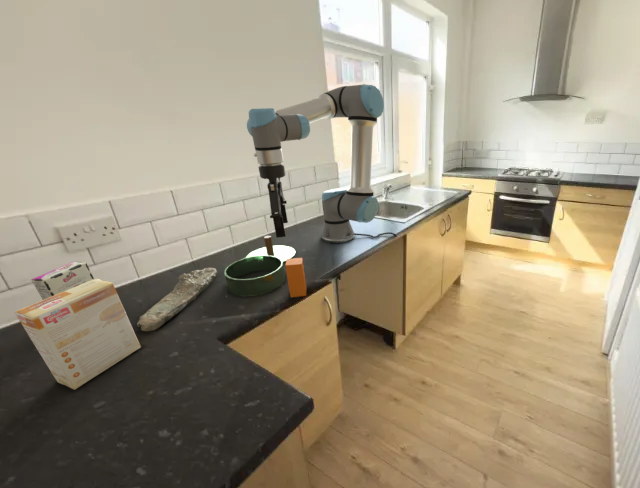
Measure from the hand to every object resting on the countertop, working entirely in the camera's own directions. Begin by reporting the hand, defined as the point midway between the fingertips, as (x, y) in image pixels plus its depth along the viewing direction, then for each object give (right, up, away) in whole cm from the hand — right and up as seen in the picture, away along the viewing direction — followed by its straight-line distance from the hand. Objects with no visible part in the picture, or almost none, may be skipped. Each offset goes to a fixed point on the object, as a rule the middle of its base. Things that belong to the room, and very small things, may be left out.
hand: (282, 229), depth 106 cm
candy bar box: (-56, -28, -10) cm, 64 cm away
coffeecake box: (-35, -35, -28) cm, 57 cm away
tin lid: (-13, -9, +27) cm, 32 cm away
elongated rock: (-32, -23, -2) cm, 39 cm away
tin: (-11, -18, +7) cm, 23 cm away
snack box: (+6, -21, 0) cm, 22 cm away
